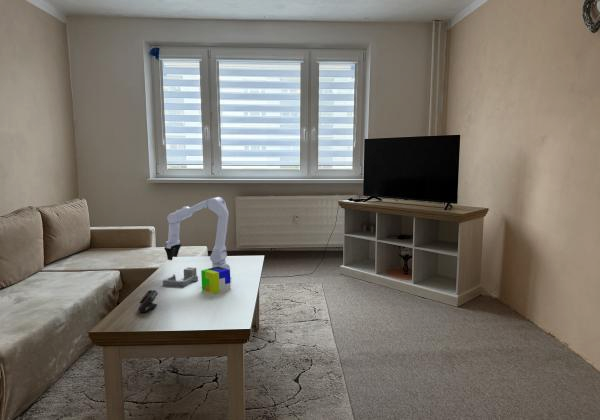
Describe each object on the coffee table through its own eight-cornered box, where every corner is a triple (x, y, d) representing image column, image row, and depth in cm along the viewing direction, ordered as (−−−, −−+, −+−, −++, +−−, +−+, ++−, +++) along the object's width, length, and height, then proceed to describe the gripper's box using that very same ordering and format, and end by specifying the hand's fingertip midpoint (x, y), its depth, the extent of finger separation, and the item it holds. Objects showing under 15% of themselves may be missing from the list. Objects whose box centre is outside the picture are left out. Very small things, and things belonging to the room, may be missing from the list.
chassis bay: (173, 278, 226) (173, 273, 226) (198, 280, 223) (198, 274, 222) (160, 285, 214) (159, 279, 214) (186, 287, 211) (186, 281, 210)
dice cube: (196, 276, 231) (196, 267, 230) (192, 279, 226) (192, 270, 225) (188, 276, 232) (188, 267, 231) (184, 278, 227) (183, 269, 227)
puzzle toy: (230, 289, 207) (230, 269, 206) (213, 294, 199) (213, 273, 198) (218, 285, 214) (217, 266, 212) (202, 290, 206) (201, 270, 205)
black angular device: (154, 307, 186) (140, 299, 185) (164, 293, 186) (151, 285, 184) (147, 320, 175) (133, 311, 173) (158, 304, 174) (144, 296, 172)
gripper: (171, 231, 235) (170, 254, 237) (161, 236, 221) (160, 260, 223) (183, 232, 235) (182, 255, 237) (174, 237, 220) (173, 262, 222)
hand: (172, 258), depth 230 cm, fingers open, 7 cm apart
